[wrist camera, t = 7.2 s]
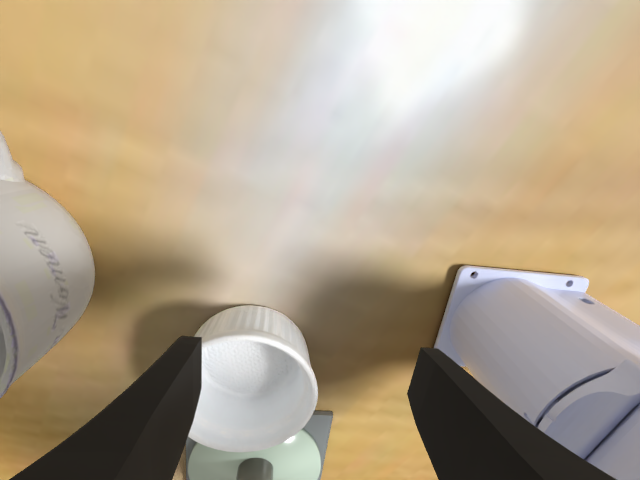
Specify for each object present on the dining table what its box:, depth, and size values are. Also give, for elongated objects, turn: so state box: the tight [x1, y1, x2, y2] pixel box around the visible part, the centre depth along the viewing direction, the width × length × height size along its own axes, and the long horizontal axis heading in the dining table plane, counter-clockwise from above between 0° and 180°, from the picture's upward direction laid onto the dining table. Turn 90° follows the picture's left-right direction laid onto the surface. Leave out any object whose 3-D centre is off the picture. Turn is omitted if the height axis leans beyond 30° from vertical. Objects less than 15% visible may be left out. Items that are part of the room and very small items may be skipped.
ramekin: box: [188, 305, 318, 453], centre depth 21 cm, size 9×9×4 cm
